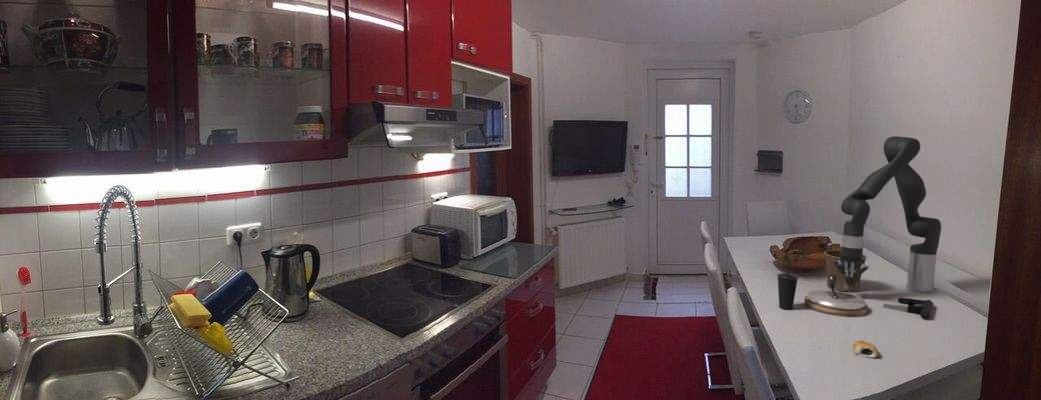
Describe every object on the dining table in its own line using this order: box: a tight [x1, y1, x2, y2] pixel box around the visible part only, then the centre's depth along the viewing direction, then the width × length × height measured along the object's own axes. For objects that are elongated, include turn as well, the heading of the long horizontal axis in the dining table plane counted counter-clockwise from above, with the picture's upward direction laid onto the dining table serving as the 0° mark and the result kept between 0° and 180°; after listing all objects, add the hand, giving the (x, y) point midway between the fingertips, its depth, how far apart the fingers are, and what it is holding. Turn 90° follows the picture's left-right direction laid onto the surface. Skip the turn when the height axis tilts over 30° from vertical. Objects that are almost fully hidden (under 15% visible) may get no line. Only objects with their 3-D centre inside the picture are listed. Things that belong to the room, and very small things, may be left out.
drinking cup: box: [776, 260, 799, 311], centre depth 197 cm, size 8×8×20 cm
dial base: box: [803, 294, 869, 318], centre depth 199 cm, size 22×22×2 cm
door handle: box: [882, 297, 936, 320], centre depth 195 cm, size 3×20×16 cm
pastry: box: [852, 340, 880, 359], centre depth 158 cm, size 9×7×4 cm
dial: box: [806, 275, 866, 310], centre depth 201 cm, size 26×20×7 cm
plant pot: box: [824, 249, 868, 293], centre depth 221 cm, size 16×16×16 cm
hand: (849, 284), depth 207 cm, fingers closed
